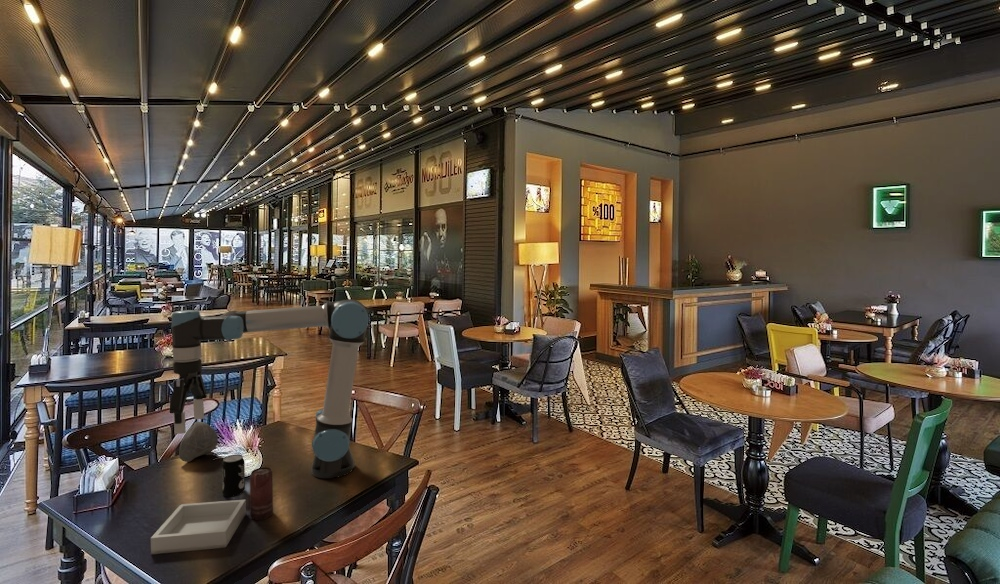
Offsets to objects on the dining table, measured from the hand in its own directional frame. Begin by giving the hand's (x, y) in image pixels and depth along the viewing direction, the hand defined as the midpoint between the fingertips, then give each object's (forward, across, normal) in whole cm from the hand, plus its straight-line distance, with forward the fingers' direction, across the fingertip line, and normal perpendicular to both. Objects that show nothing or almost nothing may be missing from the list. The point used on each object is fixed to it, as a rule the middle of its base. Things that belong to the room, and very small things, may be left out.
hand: (190, 425), depth 155 cm
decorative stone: (+25, -36, -12) cm, 46 cm away
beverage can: (+25, -4, +11) cm, 28 cm away
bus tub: (+25, +20, +10) cm, 33 cm away
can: (+25, +12, +24) cm, 37 cm away
